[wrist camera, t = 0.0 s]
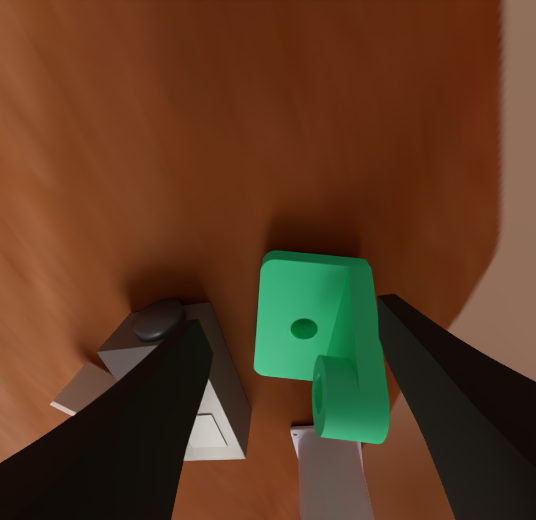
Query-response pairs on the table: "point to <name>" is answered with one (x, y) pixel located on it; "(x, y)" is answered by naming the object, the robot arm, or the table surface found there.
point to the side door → (83, 389)
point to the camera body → (219, 383)
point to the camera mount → (325, 340)
